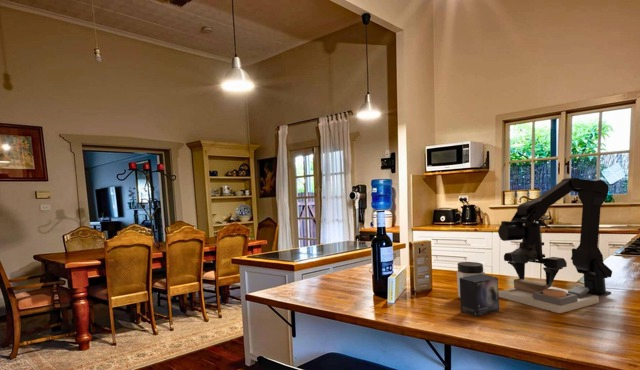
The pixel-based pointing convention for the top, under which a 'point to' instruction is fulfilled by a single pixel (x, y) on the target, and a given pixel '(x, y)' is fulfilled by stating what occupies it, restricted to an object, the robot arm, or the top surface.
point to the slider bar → (529, 285)
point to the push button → (554, 293)
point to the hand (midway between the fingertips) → (535, 284)
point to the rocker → (578, 290)
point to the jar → (468, 271)
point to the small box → (479, 294)
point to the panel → (549, 299)
